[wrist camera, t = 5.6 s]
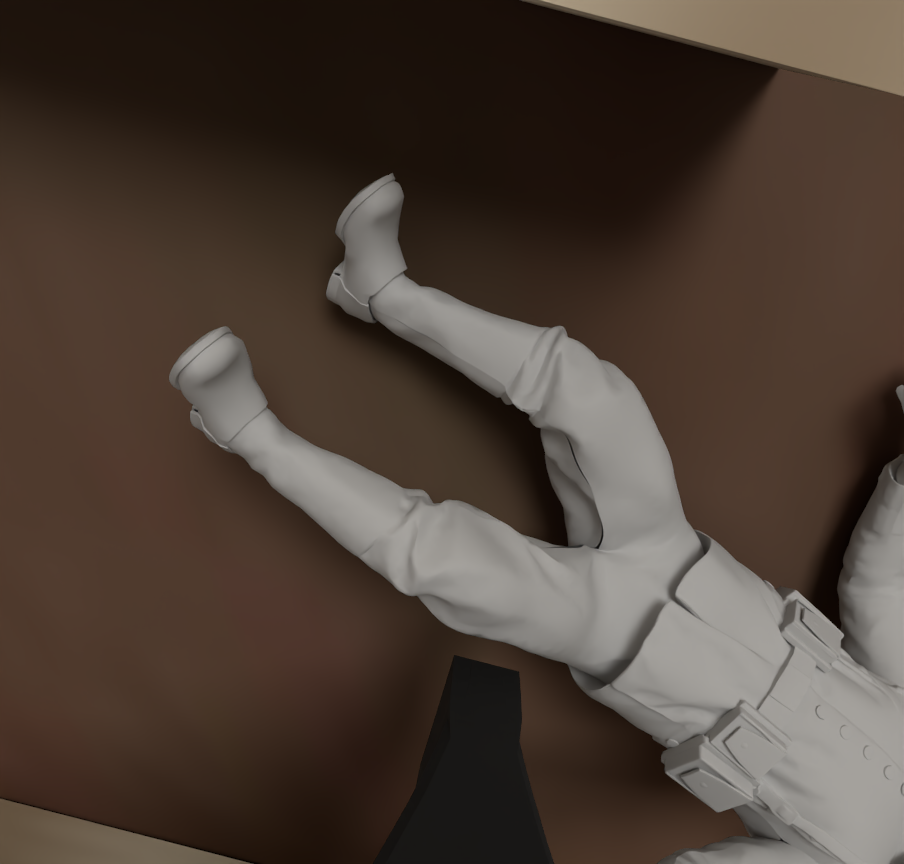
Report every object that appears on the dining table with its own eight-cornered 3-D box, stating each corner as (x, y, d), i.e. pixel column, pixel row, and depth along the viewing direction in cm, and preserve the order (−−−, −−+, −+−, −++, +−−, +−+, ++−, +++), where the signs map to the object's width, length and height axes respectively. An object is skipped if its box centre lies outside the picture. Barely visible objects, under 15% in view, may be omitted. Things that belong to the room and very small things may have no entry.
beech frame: (-264, 761, 17) (-452, 930, 14) (-603, -412, 8) (-1308, -674, 5) (438, 942, 17) (412, 1152, 14) (821, -35, 8) (979, -68, 5)
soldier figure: (540, 4, 10) (1468, 674, 8) (473, 236, 14) (1063, 691, 13) (5, 481, 7) (1259, 1602, 5) (136, 577, 11) (840, 1202, 10)
